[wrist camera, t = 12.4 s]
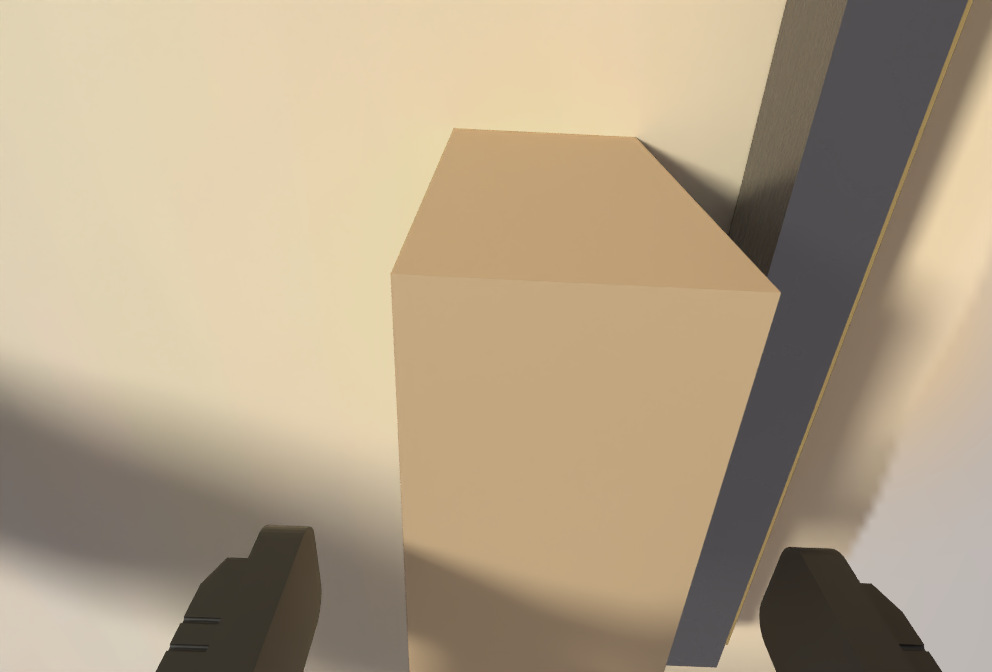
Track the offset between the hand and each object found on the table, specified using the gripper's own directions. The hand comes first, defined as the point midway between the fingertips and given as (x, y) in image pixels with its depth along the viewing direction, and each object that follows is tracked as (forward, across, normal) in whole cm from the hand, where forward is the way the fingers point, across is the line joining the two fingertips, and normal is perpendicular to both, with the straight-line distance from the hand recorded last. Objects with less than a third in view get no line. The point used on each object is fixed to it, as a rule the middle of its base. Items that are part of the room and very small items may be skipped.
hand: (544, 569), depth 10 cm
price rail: (+10, -7, 0) cm, 12 cm away
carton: (+10, 0, 0) cm, 10 cm away
